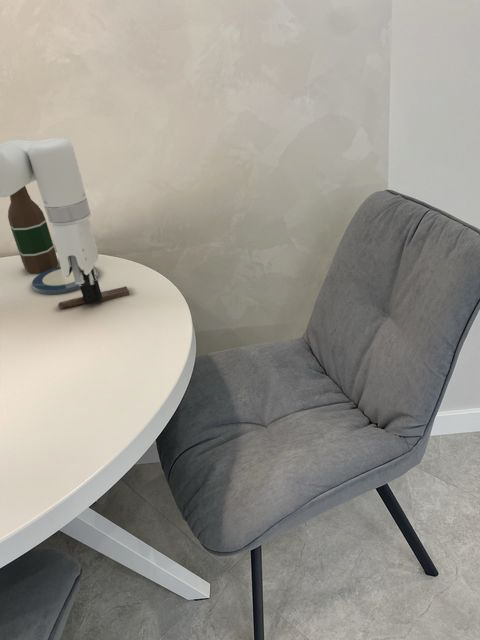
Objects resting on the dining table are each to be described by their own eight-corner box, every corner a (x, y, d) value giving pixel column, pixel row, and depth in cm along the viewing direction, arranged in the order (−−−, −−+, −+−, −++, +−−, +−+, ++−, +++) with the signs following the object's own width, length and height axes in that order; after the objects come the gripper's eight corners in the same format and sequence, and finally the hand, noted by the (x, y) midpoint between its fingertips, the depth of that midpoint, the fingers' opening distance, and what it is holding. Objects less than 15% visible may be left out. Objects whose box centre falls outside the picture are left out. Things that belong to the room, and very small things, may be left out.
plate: (24, 297, 115) (23, 292, 115) (44, 270, 127) (42, 266, 127) (90, 291, 115) (89, 286, 115) (103, 264, 127) (102, 260, 127)
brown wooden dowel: (59, 311, 108) (57, 305, 107) (58, 306, 110) (56, 300, 109) (129, 294, 112) (128, 288, 111) (127, 290, 114) (125, 284, 113)
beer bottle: (44, 259, 133) (12, 158, 121) (66, 263, 130) (35, 159, 117) (18, 271, 128) (-19, 167, 115) (40, 276, 124) (5, 169, 112)
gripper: (59, 201, 106) (84, 286, 116) (34, 227, 93) (65, 320, 103) (97, 197, 106) (119, 283, 115) (78, 222, 93) (104, 316, 103)
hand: (93, 300), depth 109 cm, fingers closed
